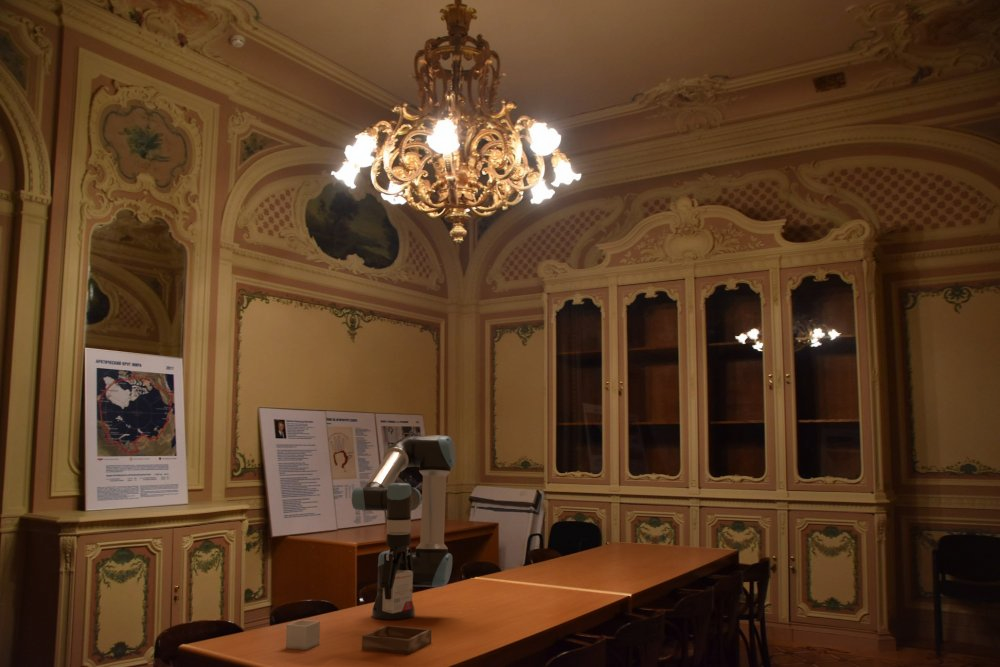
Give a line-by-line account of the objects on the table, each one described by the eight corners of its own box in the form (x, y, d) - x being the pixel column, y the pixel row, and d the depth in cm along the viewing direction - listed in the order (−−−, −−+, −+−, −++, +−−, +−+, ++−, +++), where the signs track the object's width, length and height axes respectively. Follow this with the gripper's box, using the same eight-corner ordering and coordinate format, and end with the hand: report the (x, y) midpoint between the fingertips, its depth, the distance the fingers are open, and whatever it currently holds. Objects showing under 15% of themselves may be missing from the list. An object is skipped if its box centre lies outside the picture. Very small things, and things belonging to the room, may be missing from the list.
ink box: (402, 607, 262) (403, 568, 263) (413, 609, 258) (413, 570, 260) (381, 611, 255) (381, 572, 257) (391, 613, 252) (392, 574, 253)
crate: (386, 638, 265) (386, 625, 266) (431, 642, 260) (431, 629, 260) (361, 649, 252) (362, 635, 252) (408, 654, 246) (408, 640, 246)
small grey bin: (300, 642, 260) (300, 619, 261) (319, 644, 257) (319, 621, 258) (286, 648, 254) (286, 624, 254) (305, 650, 251) (306, 626, 252)
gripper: (404, 528, 271) (403, 599, 268) (369, 536, 251) (368, 612, 248) (425, 529, 268) (424, 601, 266) (391, 537, 248) (390, 614, 245)
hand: (397, 606), depth 257 cm, fingers closed on ink box, 9 cm apart
